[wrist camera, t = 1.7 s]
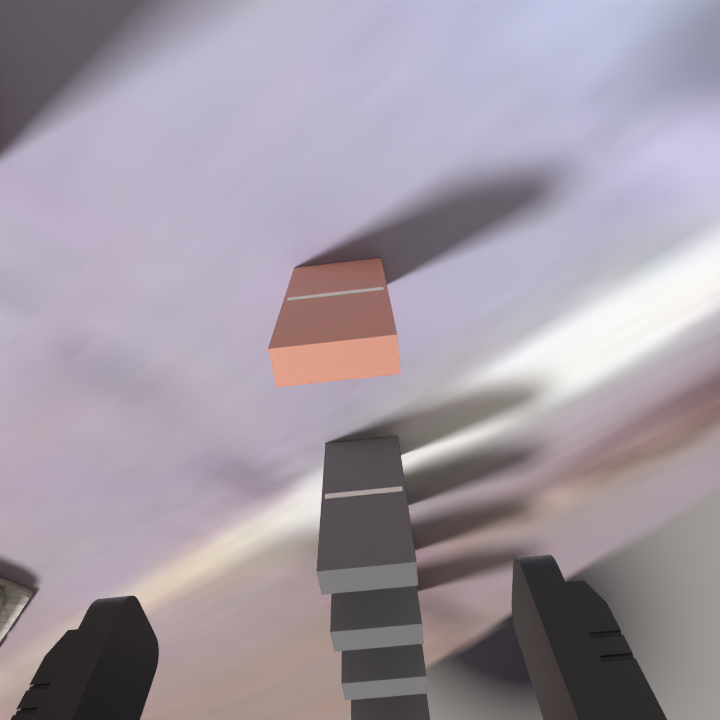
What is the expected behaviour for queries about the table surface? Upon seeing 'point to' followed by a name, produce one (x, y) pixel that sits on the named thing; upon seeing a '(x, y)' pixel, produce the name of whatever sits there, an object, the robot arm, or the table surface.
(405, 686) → the domino
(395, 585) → the domino
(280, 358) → the domino
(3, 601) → the packaged product
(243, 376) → the table surface
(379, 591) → the domino
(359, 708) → the domino
